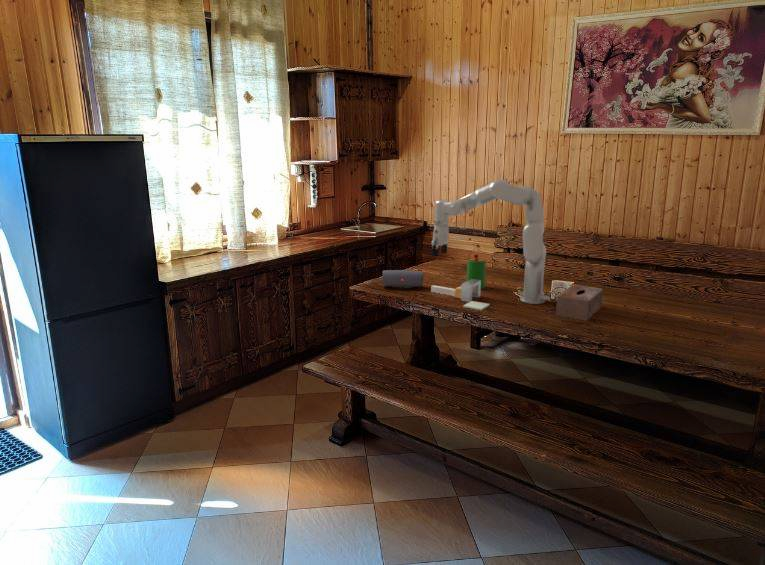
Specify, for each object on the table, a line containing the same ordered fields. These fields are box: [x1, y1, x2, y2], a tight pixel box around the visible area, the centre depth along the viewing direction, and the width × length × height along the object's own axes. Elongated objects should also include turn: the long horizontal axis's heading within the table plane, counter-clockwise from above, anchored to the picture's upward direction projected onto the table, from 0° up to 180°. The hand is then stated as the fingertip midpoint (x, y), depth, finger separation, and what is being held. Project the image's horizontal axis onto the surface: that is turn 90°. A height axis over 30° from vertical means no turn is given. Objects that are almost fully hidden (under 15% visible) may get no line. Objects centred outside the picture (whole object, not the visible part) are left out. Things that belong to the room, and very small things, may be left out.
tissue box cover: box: [555, 284, 604, 322], centre depth 267 cm, size 26×14×10 cm, turn 144°
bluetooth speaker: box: [381, 269, 424, 289], centre depth 310 cm, size 23×9×10 cm, turn 83°
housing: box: [460, 279, 482, 303], centre depth 289 cm, size 5×13×9 cm, turn 145°
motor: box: [466, 252, 487, 290], centre depth 309 cm, size 10×9×20 cm
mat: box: [462, 300, 491, 311], centre depth 276 cm, size 10×10×1 cm
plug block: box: [454, 285, 461, 299], centre depth 292 cm, size 5×5×5 cm
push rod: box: [430, 284, 455, 297], centre depth 298 cm, size 15×2×4 cm, turn 55°
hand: (439, 254), depth 299 cm, fingers open, 9 cm apart
